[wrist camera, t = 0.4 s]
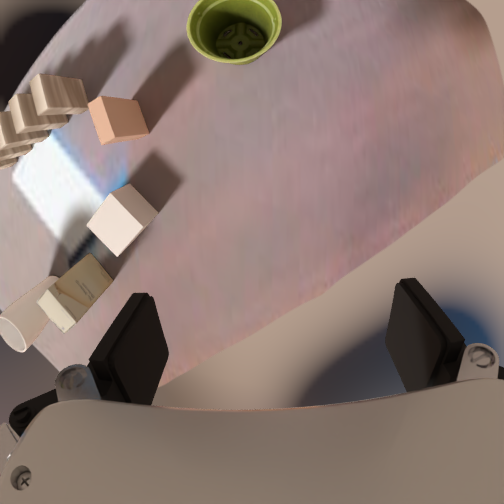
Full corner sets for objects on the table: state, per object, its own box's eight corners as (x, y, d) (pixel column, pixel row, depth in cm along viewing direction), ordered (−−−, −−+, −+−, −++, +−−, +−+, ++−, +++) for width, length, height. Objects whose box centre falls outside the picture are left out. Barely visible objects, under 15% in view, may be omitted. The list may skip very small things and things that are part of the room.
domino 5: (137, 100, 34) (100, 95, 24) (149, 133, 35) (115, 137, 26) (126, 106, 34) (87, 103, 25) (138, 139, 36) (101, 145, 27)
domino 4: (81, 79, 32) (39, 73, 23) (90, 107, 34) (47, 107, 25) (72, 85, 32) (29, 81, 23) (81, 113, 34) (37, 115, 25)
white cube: (106, 211, 40) (86, 225, 35) (129, 183, 38) (110, 192, 33) (134, 240, 42) (117, 257, 36) (159, 213, 40) (143, 227, 34)
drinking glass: (76, 303, 47) (33, 355, 33) (51, 302, 47) (8, 350, 33) (64, 270, 44) (13, 317, 30) (39, 271, 45) (-10, 314, 31)
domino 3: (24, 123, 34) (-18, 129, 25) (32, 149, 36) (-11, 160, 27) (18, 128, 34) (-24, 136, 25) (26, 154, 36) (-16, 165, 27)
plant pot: (187, 48, 31) (167, 29, 23) (239, 1, 28) (232, -28, 20) (241, 91, 33) (234, 80, 25) (293, 43, 30) (301, 21, 22)
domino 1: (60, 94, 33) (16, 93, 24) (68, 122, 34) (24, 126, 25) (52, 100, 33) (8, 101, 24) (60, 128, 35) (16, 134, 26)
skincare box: (114, 280, 44) (78, 324, 33) (99, 292, 46) (64, 336, 34) (89, 250, 43) (47, 288, 31) (76, 264, 44) (35, 302, 32)
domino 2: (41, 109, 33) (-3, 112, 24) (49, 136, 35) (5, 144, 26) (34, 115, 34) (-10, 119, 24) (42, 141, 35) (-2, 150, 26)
